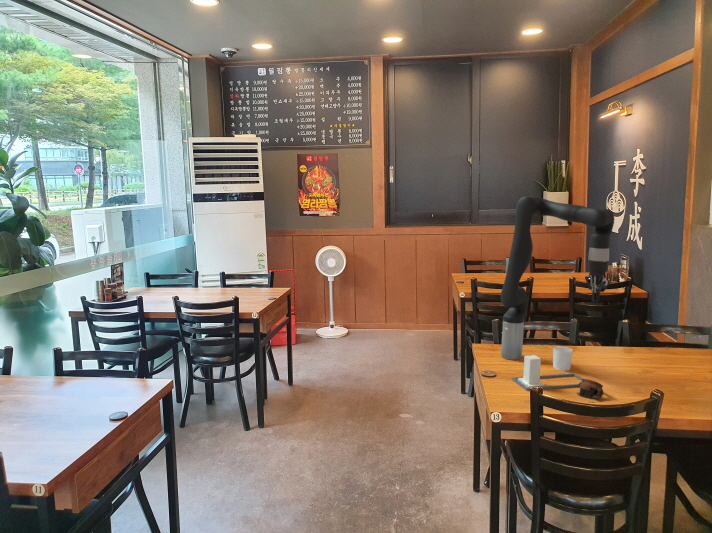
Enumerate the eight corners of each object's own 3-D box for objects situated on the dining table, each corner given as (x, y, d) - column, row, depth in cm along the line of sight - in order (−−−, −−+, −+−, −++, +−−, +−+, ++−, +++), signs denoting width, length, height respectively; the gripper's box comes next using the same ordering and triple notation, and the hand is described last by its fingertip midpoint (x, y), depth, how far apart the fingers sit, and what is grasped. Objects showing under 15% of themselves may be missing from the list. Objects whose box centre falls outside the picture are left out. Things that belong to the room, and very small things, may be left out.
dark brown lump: (568, 396, 203) (575, 376, 205) (588, 405, 205) (594, 385, 206) (590, 400, 191) (596, 379, 193) (611, 410, 193) (617, 389, 195)
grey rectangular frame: (511, 383, 215) (511, 377, 215) (573, 378, 221) (574, 373, 220) (526, 394, 204) (526, 388, 203) (591, 389, 209) (592, 383, 209)
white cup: (568, 368, 233) (569, 346, 231) (573, 374, 225) (575, 352, 224) (549, 367, 234) (551, 346, 232) (554, 374, 226) (555, 351, 224)
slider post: (517, 380, 214) (518, 354, 212) (533, 379, 215) (534, 353, 214) (528, 388, 205) (530, 361, 203) (545, 387, 206) (547, 360, 205)
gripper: (580, 257, 218) (577, 298, 221) (600, 261, 205) (597, 305, 208) (596, 256, 219) (593, 297, 222) (618, 261, 207) (614, 304, 209)
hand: (595, 301), depth 215 cm, fingers closed
